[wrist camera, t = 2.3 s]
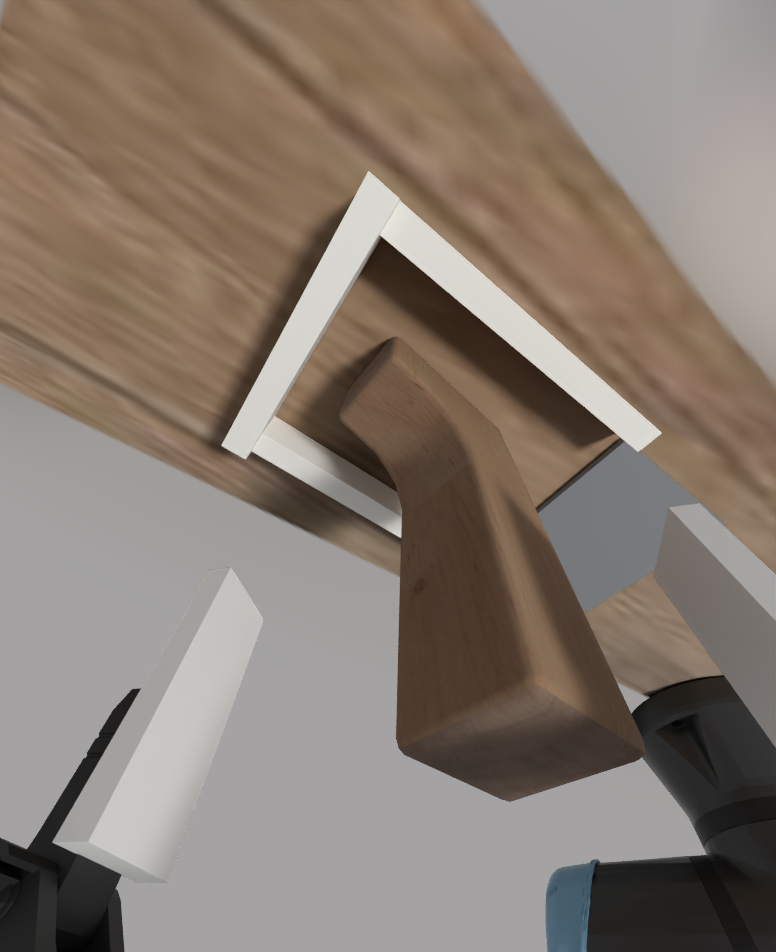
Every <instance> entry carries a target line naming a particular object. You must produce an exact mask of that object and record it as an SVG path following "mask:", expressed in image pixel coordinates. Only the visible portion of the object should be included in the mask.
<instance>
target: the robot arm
mask: <svg viewBox="0 0 776 952" xmlns="http://www.w3.org/2000/svg"><path fill="white" fill-rule="evenodd" d="M654 578H655V579H656V581H657V582H658V583H659V585H660V586H661V588H662V589H663V590H664V592H665V593H666V595H667V596H668V597H669V599H670V600H671V602H672V603H673V604H674V606H675V607H676V609H677V610H678V611H679V613H680V614H681V616H682V617H683V618H684V620H685V621H686V623H687V624H688V625H689V627H690V628H691V630H692V631H693V632H694V634H695V635H696V637H697V638H698V639H699V641H700V642H701V644H702V645H703V646H704V648H705V649H706V651H707V652H708V653H709V655H710V656H711V658H712V659H713V660H714V662H715V663H716V665H717V666H718V667H719V669H720V670H721V672H722V673H723V674H724V676H725V677H719V678H710V679H703V680H698V681H693V682H689V683H685V684H681V685H678V686H675V687H672V688H669V689H667V690H664V691H662V692H660V693H658V694H656V695H654V696H652V697H650V698H649V699H647V700H646V701H644V702H643V703H642V704H641V705H639V706H638V707H637V708H636V709H635V710H634V711H633V713H632V714H631V715H632V717H633V719H634V721H635V723H636V725H637V727H638V730H639V732H640V734H641V736H642V739H643V742H644V748H645V754H644V755H643V756H642V758H643V759H644V760H645V762H646V763H647V764H648V765H649V767H650V768H651V769H652V771H653V772H654V773H655V774H656V776H657V777H658V778H659V779H660V781H661V782H662V783H663V785H664V786H665V787H666V789H667V790H668V791H669V792H670V794H671V795H672V796H673V797H674V799H675V800H676V801H677V803H678V804H679V805H680V806H681V808H682V809H683V810H684V812H685V813H686V814H687V816H688V817H689V819H690V821H691V822H692V825H693V827H694V829H695V831H696V832H697V835H698V837H699V839H700V841H701V843H702V845H703V847H704V849H705V852H706V854H707V855H701V856H683V857H672V858H659V859H648V860H634V861H622V862H608V863H600V861H599V860H597V859H596V860H592V861H591V862H590V863H587V864H581V865H574V866H568V867H562V868H559V869H557V870H556V871H555V872H554V873H553V874H552V876H551V878H550V880H549V883H548V887H547V893H546V935H547V950H548V952H776V574H775V573H774V572H772V571H771V570H770V569H769V568H768V567H767V566H766V565H765V564H764V563H763V562H762V561H761V560H760V559H759V558H757V557H756V556H755V555H754V554H753V553H752V552H751V551H750V550H749V549H748V548H747V547H746V546H745V545H744V544H742V543H741V542H740V541H739V540H738V539H737V538H736V537H735V536H734V535H733V534H732V533H731V532H730V531H729V530H727V529H726V528H725V527H724V526H723V525H722V524H721V523H720V522H719V521H718V520H717V519H716V518H715V517H713V516H712V515H711V514H710V513H709V512H708V511H707V510H706V509H705V508H704V507H703V506H702V505H701V504H700V503H698V504H691V505H683V506H676V507H669V508H668V513H667V517H666V522H665V527H664V531H663V536H662V540H661V545H660V549H659V554H658V559H657V563H656V568H655V572H654ZM262 623H263V618H262V616H261V615H260V613H259V612H258V610H257V608H256V607H255V605H254V604H253V602H252V600H251V598H250V597H249V595H248V594H247V592H246V590H245V589H244V587H243V586H242V584H241V582H240V581H239V579H238V577H237V576H236V574H235V573H234V571H233V569H232V568H231V567H227V568H219V569H212V570H209V572H208V574H207V576H206V578H205V579H204V581H203V583H202V584H201V586H200V588H199V589H198V591H197V593H196V594H195V596H194V598H193V600H192V602H191V603H190V605H189V607H188V608H187V610H186V612H185V614H184V615H183V617H182V619H181V621H180V622H179V624H178V626H177V627H176V629H175V631H174V632H173V634H172V636H171V638H170V640H169V641H168V643H167V645H166V646H165V648H164V650H163V652H162V653H161V655H160V657H159V659H158V660H157V662H156V664H155V665H154V667H153V669H152V671H151V672H150V674H149V676H148V678H147V679H146V681H145V683H144V685H143V686H142V688H141V689H132V690H131V691H130V692H129V693H128V694H127V696H126V697H125V698H124V699H123V700H122V701H121V702H120V703H119V704H118V705H117V706H116V708H115V709H114V710H113V711H112V713H111V715H110V716H109V718H108V720H107V721H106V723H105V725H104V726H103V728H102V729H101V731H100V733H99V737H98V738H96V739H95V741H94V742H93V744H92V746H91V747H90V749H89V751H88V752H87V757H86V758H84V759H83V760H82V762H81V764H80V765H79V767H78V769H77V770H76V772H75V773H74V775H73V777H72V779H71V780H70V782H69V783H68V785H67V787H66V788H65V790H64V792H63V793H62V795H61V796H60V798H59V800H58V801H57V803H56V805H55V806H54V808H53V810H52V811H51V813H50V814H49V816H48V818H47V819H46V821H45V823H44V824H43V826H42V828H41V829H40V831H39V832H38V834H37V835H36V837H35V839H34V840H33V842H32V843H31V845H30V846H29V847H28V849H25V848H22V847H20V846H18V845H15V844H13V843H11V842H9V841H6V840H4V839H1V838H0V952H124V941H123V927H122V913H121V900H120V897H119V894H118V891H117V890H116V889H115V888H116V886H117V884H118V882H119V879H120V877H121V875H122V876H124V877H126V878H128V879H130V880H133V881H135V882H138V883H139V882H140V883H144V882H145V883H146V882H147V883H148V882H149V883H154V882H156V883H159V882H160V883H166V882H168V881H169V878H170V875H171V872H172V870H173V866H174V864H175V861H176V859H177V856H178V853H179V850H180V847H181V845H182V842H183V840H184V837H185V834H186V831H187V829H188V826H189V823H190V820H191V818H192V815H193V812H194V809H195V807H196V804H197V801H198V798H199V795H200V793H201V790H202V788H203V785H204V782H205V779H206V777H207V774H208V771H209V768H210V766H211V763H212V760H213V757H214V754H215V752H216V749H217V746H218V744H219V741H220V738H221V735H222V733H223V730H224V727H225V725H226V722H227V719H228V716H229V714H230V710H231V708H232V705H233V703H234V700H235V697H236V694H237V692H238V689H239V686H240V684H241V681H242V678H243V675H244V673H245V670H246V667H247V664H248V662H249V659H250V656H251V653H252V650H253V648H254V645H255V642H256V640H257V637H258V634H259V631H260V629H261V626H262Z"/></svg>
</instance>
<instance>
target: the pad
mask: <svg viewBox="0 0 776 952" xmlns="http://www.w3.org/2000/svg"><path fill="white" fill-rule="evenodd" d="M698 503H700V504H701V505H702V506H703V507H704V508H705V509H706V510H707V511H708V512H709V513H710V514H711V515H712V516H713V517H715V518H716V519H717V520H718V521H719V522H720V523H721V524H722V525H723V526H725V525H727V524H725V523H724V522H723V521H722V520H721V519H720V518H719V517H717V516H716V515H715V514H714V513H713V512H711V511H710V510H709V509H708V508H707V507H706V506H704V505H703V504H702V503H701V502H700V501H698V500H697V499H696V498H695V497H694V496H693V495H691V494H690V493H689V492H688V491H687V490H685V489H684V488H683V487H682V486H681V485H679V484H678V483H677V482H676V481H675V480H674V479H672V478H671V477H670V476H669V475H668V474H666V473H665V472H664V471H663V470H662V469H661V468H659V467H658V466H657V465H656V464H655V463H653V462H652V461H651V460H650V459H649V458H647V457H646V456H645V455H644V454H643V453H642V452H640V451H639V452H637V451H636V450H635V449H634V448H633V447H631V446H630V445H629V444H628V443H627V442H625V441H624V440H623V439H621V440H619V441H618V442H617V443H616V444H615V445H613V446H612V447H611V448H610V449H609V450H607V451H606V452H605V453H604V454H603V455H601V456H600V457H599V458H598V459H597V460H595V461H594V462H593V463H592V464H591V465H589V466H588V467H587V468H586V469H585V470H583V471H582V472H581V473H580V474H579V475H577V476H576V477H575V478H574V479H573V480H571V481H570V482H569V483H568V484H567V485H566V486H564V487H563V488H562V489H561V490H560V491H558V492H557V493H556V494H555V495H554V496H552V497H551V498H550V499H549V500H548V501H546V502H545V503H544V504H543V505H542V506H540V507H539V508H538V509H537V510H536V511H537V513H538V515H539V517H540V519H541V521H542V524H543V526H544V528H545V530H546V532H547V534H548V536H549V539H550V541H551V543H552V545H553V547H554V549H555V551H556V554H557V556H558V558H559V560H560V562H561V564H562V566H563V569H564V571H565V573H566V575H567V577H568V579H569V581H570V584H571V586H572V588H573V590H574V592H575V594H576V597H577V599H578V601H579V603H580V605H581V607H582V609H583V610H584V611H586V612H587V611H589V610H591V609H592V608H594V607H595V606H597V605H599V604H600V603H602V602H603V601H605V600H607V599H608V598H610V597H611V596H613V595H615V594H616V593H618V592H619V591H621V590H623V589H624V588H626V587H627V586H629V585H631V584H632V583H634V582H635V581H637V580H639V579H640V578H642V577H643V576H645V575H647V574H648V573H650V572H651V571H653V570H655V568H656V563H657V559H658V554H659V549H660V545H661V540H662V536H663V531H664V527H665V522H666V517H667V513H668V508H669V507H676V506H683V505H691V504H698Z"/></svg>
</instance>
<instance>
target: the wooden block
mask: <svg viewBox="0 0 776 952" xmlns="http://www.w3.org/2000/svg"><path fill="white" fill-rule="evenodd" d="M338 417H339V419H340V421H341V422H342V423H343V424H344V425H345V426H346V427H347V428H348V429H349V430H350V431H352V432H353V433H354V434H355V435H356V436H357V437H358V438H359V439H360V440H361V441H363V442H364V443H365V444H366V445H367V446H368V447H369V448H370V449H371V450H373V451H374V452H375V453H376V454H377V456H378V457H379V459H380V460H381V462H382V463H383V465H384V467H385V468H386V470H387V471H388V473H389V474H390V476H391V477H392V479H393V481H394V482H395V485H396V489H397V493H398V497H399V501H400V505H401V509H402V527H401V566H400V607H399V609H400V610H399V645H398V648H399V649H398V685H397V726H396V739H397V743H398V747H399V749H400V750H401V751H402V752H403V754H404V755H406V756H408V757H411V758H413V759H415V760H417V761H419V762H421V763H424V764H426V765H428V766H430V767H432V768H435V769H437V770H439V771H441V772H443V773H446V774H448V775H450V776H452V777H454V778H456V779H459V780H461V781H463V782H465V783H467V784H469V785H471V786H474V787H476V788H478V789H480V790H482V791H484V792H487V793H489V794H491V795H493V796H495V797H498V798H500V799H502V800H506V801H509V802H510V801H514V800H517V799H520V798H523V797H526V796H529V795H533V794H535V793H539V792H542V791H545V790H548V789H551V788H554V787H557V786H560V785H564V784H566V783H570V782H573V781H576V780H579V779H582V778H585V777H588V776H591V775H594V774H598V773H601V772H604V771H607V770H610V769H613V768H616V767H619V766H622V765H625V764H628V763H632V762H635V761H637V760H639V759H640V758H641V757H642V756H643V755H644V754H645V748H644V742H643V739H642V736H641V734H640V732H639V730H638V727H637V725H636V723H635V721H634V719H633V717H632V715H631V713H630V710H629V708H628V706H627V704H626V702H625V700H624V697H623V695H622V693H621V691H620V689H619V687H618V684H617V682H616V680H615V678H614V676H613V674H612V672H611V669H610V667H609V665H608V663H607V661H606V659H605V657H604V654H603V652H602V650H601V648H600V646H599V644H598V642H597V639H596V637H595V635H594V633H593V631H592V629H591V627H590V624H589V622H588V620H587V618H586V616H585V614H584V612H583V609H582V607H581V605H580V603H579V601H578V599H577V597H576V594H575V592H574V590H573V588H572V586H571V584H570V581H569V579H568V577H567V575H566V573H565V571H564V569H563V566H562V564H561V562H560V560H559V558H558V556H557V554H556V551H555V549H554V547H553V545H552V543H551V541H550V539H549V536H548V534H547V532H546V530H545V528H544V526H543V524H542V521H541V519H540V517H539V515H538V513H537V511H536V508H535V506H534V504H533V502H532V500H531V498H530V495H529V493H528V491H527V489H526V487H525V484H524V482H523V480H522V478H521V476H520V474H519V471H518V469H517V467H516V465H515V463H514V461H513V459H512V456H511V454H510V452H509V450H508V448H507V446H506V444H505V442H504V440H503V438H502V435H501V433H500V431H499V429H498V428H497V427H496V426H494V425H493V424H492V423H491V422H490V421H489V420H488V419H487V418H486V417H485V416H484V415H483V414H482V413H480V412H479V411H478V410H477V409H476V408H475V407H474V406H473V405H472V404H471V403H470V402H469V401H468V400H467V399H465V398H464V397H463V396H462V395H461V394H460V393H459V392H458V391H457V390H456V389H455V388H454V387H453V386H451V385H450V384H449V383H448V382H447V381H446V380H445V379H444V378H443V377H442V376H441V375H440V374H439V373H437V372H436V371H435V370H434V369H433V368H432V367H431V366H430V365H429V364H428V363H427V362H426V361H424V360H423V359H422V358H421V357H420V356H419V355H418V354H417V353H416V352H415V351H414V350H413V349H412V348H410V347H409V346H408V345H407V344H406V343H405V342H404V341H403V340H402V339H401V338H398V337H393V338H391V339H390V340H389V341H388V342H387V344H386V345H385V346H384V347H383V348H382V350H381V351H380V352H379V353H378V354H377V355H376V357H375V358H374V359H373V360H372V361H371V362H370V364H369V365H368V366H367V367H366V368H365V370H364V371H363V372H362V373H361V374H360V375H359V377H358V378H357V379H356V380H355V381H354V383H353V384H352V385H351V386H350V387H349V390H348V392H347V395H346V397H345V400H344V402H343V405H342V407H341V410H340V412H339V416H338Z"/></svg>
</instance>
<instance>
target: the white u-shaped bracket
mask: <svg viewBox="0 0 776 952" xmlns="http://www.w3.org/2000/svg"><path fill="white" fill-rule="evenodd" d="M382 237H383V238H384V239H385V240H386V241H388V242H389V243H390V244H391V245H392V246H393V247H395V248H396V249H397V250H398V251H399V252H401V253H402V254H403V255H404V256H405V257H407V258H408V259H409V260H410V261H411V262H413V263H414V264H415V265H416V266H417V267H418V268H420V269H421V270H422V271H423V272H424V273H426V274H427V275H428V276H429V277H430V278H432V279H433V280H434V281H435V282H436V283H437V284H439V285H440V286H441V287H442V288H443V289H445V290H446V291H447V292H448V293H449V294H451V295H452V296H453V297H454V298H455V299H457V300H458V301H459V302H460V303H461V304H462V305H464V306H465V307H466V308H467V309H468V310H470V311H471V312H472V313H473V314H474V315H476V316H477V317H478V318H479V319H480V320H482V321H483V322H484V323H485V324H486V325H487V326H489V327H490V328H491V329H492V330H493V331H495V332H496V333H497V334H498V335H499V336H501V337H502V338H503V339H504V340H505V341H506V342H508V343H509V344H510V345H511V346H512V347H514V348H515V349H516V350H517V351H518V352H520V353H521V354H522V355H523V356H524V357H526V358H527V359H528V360H529V361H530V362H531V363H533V364H534V365H535V366H536V367H537V368H539V369H540V370H541V371H542V372H543V373H545V374H546V375H547V376H548V377H549V378H550V379H552V380H553V381H554V382H555V383H556V384H558V385H559V386H560V387H561V388H562V389H564V390H565V391H566V392H567V393H568V394H570V395H571V396H572V397H573V398H574V399H575V400H577V401H578V402H579V403H580V404H581V405H583V406H584V407H585V408H586V409H587V410H589V411H590V412H591V413H592V414H593V415H594V416H596V417H597V418H598V419H599V420H600V421H602V422H603V423H604V424H605V425H606V426H608V427H609V428H610V429H611V430H612V431H614V432H615V433H616V434H617V435H618V436H619V437H621V438H622V439H623V440H624V441H625V442H627V443H628V444H629V445H630V446H631V447H633V448H634V449H635V450H636V451H637V452H639V451H640V450H641V449H643V448H644V447H645V446H646V445H648V444H649V443H650V442H651V441H653V440H654V439H655V438H656V437H658V436H659V435H660V434H661V432H660V431H659V430H658V429H657V428H656V427H655V426H653V425H652V424H651V423H650V422H649V421H648V420H647V419H646V418H644V417H643V416H642V415H641V414H640V413H639V412H638V411H637V410H635V409H634V408H633V407H632V406H631V405H630V404H629V403H628V402H626V401H625V400H624V399H623V398H622V397H621V396H620V395H619V394H617V393H616V392H615V391H614V390H613V389H612V388H611V387H610V386H608V385H607V384H606V383H605V382H604V381H603V380H602V379H600V378H599V377H598V376H597V375H596V374H595V373H594V372H593V371H591V370H590V369H589V368H588V367H587V366H586V365H585V364H584V363H582V362H581V361H580V360H579V359H578V358H577V357H576V356H575V355H573V354H572V353H571V352H570V351H569V350H568V349H567V348H566V347H564V346H563V345H562V344H561V343H560V342H559V341H558V340H557V339H555V338H554V337H553V336H552V335H551V334H550V333H549V332H548V331H546V330H545V329H544V328H543V327H542V326H541V325H540V324H539V323H537V322H536V321H535V320H534V319H533V318H532V317H531V316H530V315H528V314H527V313H526V312H525V311H524V310H523V309H522V308H520V307H519V306H518V305H517V304H516V303H515V302H514V301H513V300H511V299H510V298H509V297H508V296H507V295H506V294H505V293H504V292H502V291H501V290H500V289H499V288H498V287H497V286H496V285H495V284H493V283H492V282H491V281H490V280H489V279H488V278H487V277H486V276H484V275H483V274H482V273H481V272H480V271H479V270H478V269H477V268H475V267H474V266H473V265H472V264H471V263H470V262H469V261H468V260H466V259H465V258H464V257H463V256H462V255H461V254H460V253H459V252H457V251H456V250H455V249H454V248H453V247H452V246H451V245H449V244H448V243H447V242H446V241H445V240H444V239H443V238H442V237H440V236H439V235H438V234H437V233H436V232H435V231H434V230H433V229H431V228H430V227H429V226H428V225H427V224H426V223H425V222H424V221H422V220H421V219H420V218H419V217H418V216H417V215H416V214H415V213H413V212H412V211H411V210H410V209H409V208H408V207H407V206H406V205H404V204H403V203H402V202H401V201H400V199H399V198H398V197H397V196H396V195H395V194H394V193H393V192H392V191H390V190H389V189H388V188H387V187H386V186H385V185H384V184H383V183H381V182H380V181H379V180H378V179H377V178H376V177H375V176H374V175H372V174H371V173H370V172H369V171H368V173H367V175H366V177H365V179H364V180H363V182H362V184H361V186H360V188H359V190H358V192H357V194H356V195H355V197H354V199H353V201H352V203H351V205H350V207H349V208H348V210H347V212H346V214H345V216H344V218H343V220H342V222H341V223H340V225H339V227H338V229H337V231H336V233H335V235H334V236H333V238H332V240H331V242H330V244H329V246H328V248H327V249H326V251H325V253H324V255H323V257H322V259H321V261H320V263H319V264H318V266H317V268H316V270H315V272H314V274H313V276H312V277H311V279H310V281H309V283H308V285H307V287H306V289H305V291H304V292H303V294H302V296H301V298H300V300H299V302H298V304H297V305H296V307H295V309H294V311H293V313H292V315H291V317H290V318H289V320H288V322H287V324H286V326H285V328H284V330H283V332H282V333H281V335H280V337H279V339H278V341H277V343H276V345H275V346H274V348H273V350H272V352H271V354H270V356H269V358H268V360H267V361H266V363H265V365H264V367H263V369H262V371H261V373H260V374H259V376H258V378H257V380H256V382H255V384H254V386H253V387H252V389H251V391H250V393H249V395H248V397H247V399H246V401H245V402H244V404H243V406H242V408H241V410H240V412H239V414H238V415H237V417H236V419H235V421H234V423H233V425H232V427H231V429H230V430H229V432H228V434H227V436H226V438H225V440H224V442H223V443H222V445H221V446H223V447H224V448H226V449H228V450H230V451H231V452H233V453H235V454H237V455H238V456H240V457H242V458H244V459H245V460H246V458H247V457H248V455H249V454H250V453H251V451H252V452H254V453H255V454H257V455H259V456H260V457H262V458H264V459H266V460H267V461H269V462H271V463H272V464H274V465H276V466H278V467H279V468H281V469H283V470H285V471H286V472H288V473H290V474H291V475H293V476H295V477H297V478H298V479H300V480H302V481H303V482H305V483H307V484H309V485H310V486H312V487H314V488H315V489H317V490H319V491H321V492H322V493H324V494H326V495H328V496H329V497H331V498H333V499H334V500H336V501H338V502H340V503H341V504H343V505H345V506H346V507H348V508H350V509H352V510H353V511H355V512H357V513H358V514H360V515H362V516H364V517H365V518H367V519H369V520H371V521H372V522H374V523H376V524H377V525H379V526H381V527H383V528H384V529H386V530H388V531H389V532H391V533H393V534H395V535H396V536H398V537H400V538H401V527H402V509H401V505H400V501H399V497H398V493H397V492H396V491H395V490H393V489H392V488H390V487H388V486H387V485H385V484H383V483H382V482H380V481H379V480H377V479H375V478H374V477H372V476H371V475H369V474H367V473H366V472H364V471H363V470H361V469H359V468H358V467H356V466H355V465H353V464H351V463H350V462H348V461H346V460H345V459H343V458H342V457H340V456H338V455H337V454H335V453H334V452H332V451H330V450H329V449H327V448H326V447H324V446H322V445H321V444H319V443H317V442H316V441H314V440H313V439H311V438H309V437H308V436H306V435H305V434H303V433H301V432H300V431H298V430H297V429H295V428H293V427H292V426H290V425H289V424H287V423H285V422H284V421H282V420H280V419H279V418H277V417H276V416H275V415H276V414H277V412H278V410H279V409H280V407H281V405H282V404H283V402H284V400H285V399H286V397H287V395H288V394H289V392H290V390H291V389H292V387H293V385H294V384H295V382H296V380H297V378H298V377H299V375H300V373H301V372H302V370H303V368H304V367H305V365H306V363H307V362H308V360H309V358H310V357H311V355H312V353H313V352H314V350H315V348H316V347H317V345H318V343H319V342H320V340H321V338H322V337H323V335H324V333H325V332H326V330H327V328H328V327H329V325H330V323H331V322H332V320H333V318H334V317H335V315H336V313H337V312H338V310H339V308H340V306H341V305H342V303H343V301H344V300H345V298H346V296H347V295H348V293H349V291H350V290H351V288H352V286H353V285H354V283H355V281H356V280H357V278H358V276H359V275H360V273H361V271H362V270H363V268H364V266H365V265H366V263H367V261H368V260H369V258H370V256H371V255H372V253H373V251H374V250H375V248H376V246H377V245H378V243H379V241H380V239H381V238H382Z"/></svg>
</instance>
